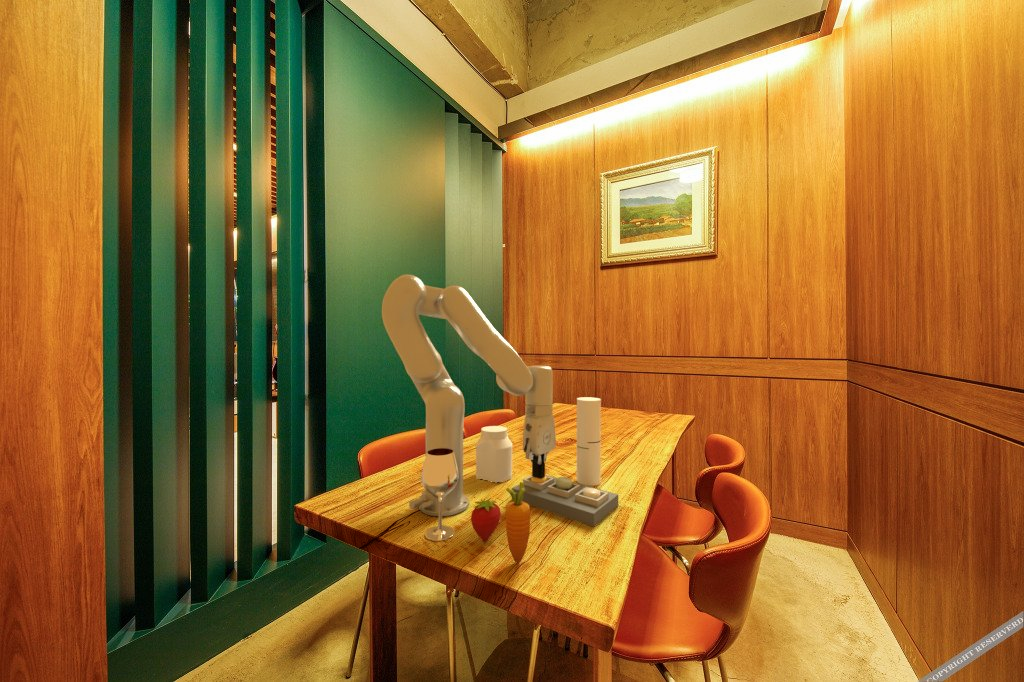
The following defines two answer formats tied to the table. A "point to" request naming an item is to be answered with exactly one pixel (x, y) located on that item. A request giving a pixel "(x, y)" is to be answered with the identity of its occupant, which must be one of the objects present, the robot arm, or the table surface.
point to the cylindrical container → (589, 441)
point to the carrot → (517, 524)
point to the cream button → (591, 493)
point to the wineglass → (440, 485)
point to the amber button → (538, 479)
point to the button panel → (568, 500)
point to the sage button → (563, 482)
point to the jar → (494, 455)
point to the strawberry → (485, 518)
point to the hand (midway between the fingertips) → (538, 476)
